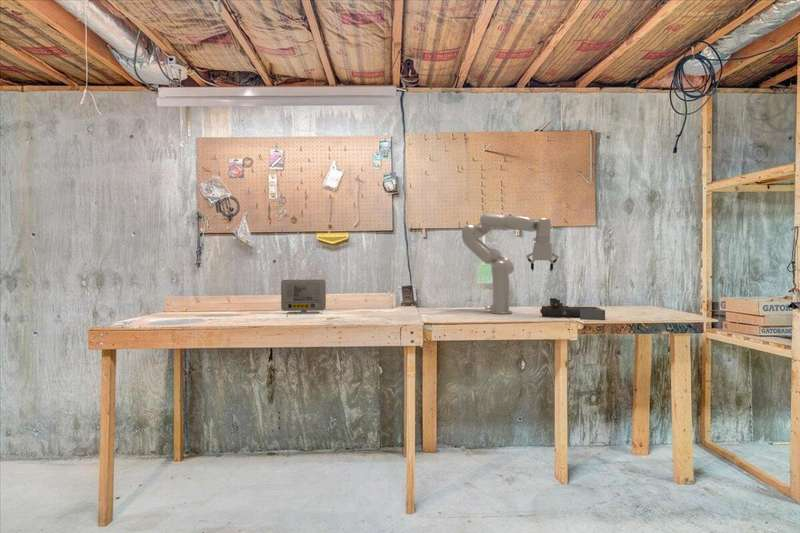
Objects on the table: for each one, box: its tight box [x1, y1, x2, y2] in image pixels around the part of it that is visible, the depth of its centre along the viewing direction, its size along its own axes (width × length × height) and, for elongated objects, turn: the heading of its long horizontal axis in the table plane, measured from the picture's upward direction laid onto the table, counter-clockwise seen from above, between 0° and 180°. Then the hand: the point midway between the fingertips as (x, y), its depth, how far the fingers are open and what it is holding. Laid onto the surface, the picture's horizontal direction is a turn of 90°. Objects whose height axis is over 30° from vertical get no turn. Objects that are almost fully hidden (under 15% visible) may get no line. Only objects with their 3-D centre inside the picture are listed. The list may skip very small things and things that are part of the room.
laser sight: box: [539, 297, 585, 318], centre depth 229 cm, size 10×22×10 cm, turn 79°
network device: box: [280, 279, 327, 315], centre depth 246 cm, size 26×9×20 cm, turn 94°
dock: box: [573, 305, 606, 321], centre depth 226 cm, size 12×17×5 cm
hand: (541, 270), depth 233 cm, fingers open, 9 cm apart
